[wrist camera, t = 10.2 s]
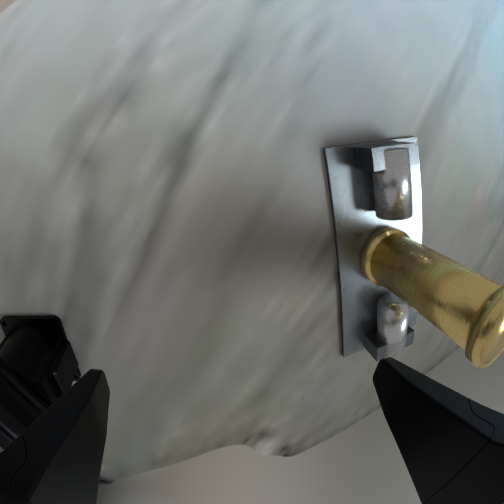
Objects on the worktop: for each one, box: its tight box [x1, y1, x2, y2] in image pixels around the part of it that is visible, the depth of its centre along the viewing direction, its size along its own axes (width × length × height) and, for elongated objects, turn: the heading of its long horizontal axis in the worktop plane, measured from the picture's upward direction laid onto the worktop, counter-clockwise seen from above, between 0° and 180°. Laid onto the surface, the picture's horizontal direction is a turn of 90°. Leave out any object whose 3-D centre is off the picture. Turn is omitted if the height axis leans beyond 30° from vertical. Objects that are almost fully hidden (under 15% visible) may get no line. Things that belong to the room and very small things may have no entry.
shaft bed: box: [323, 137, 422, 361], centre depth 23 cm, size 19×9×3 cm, turn 11°
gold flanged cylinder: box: [360, 227, 504, 369], centre depth 18 cm, size 5×5×13 cm
